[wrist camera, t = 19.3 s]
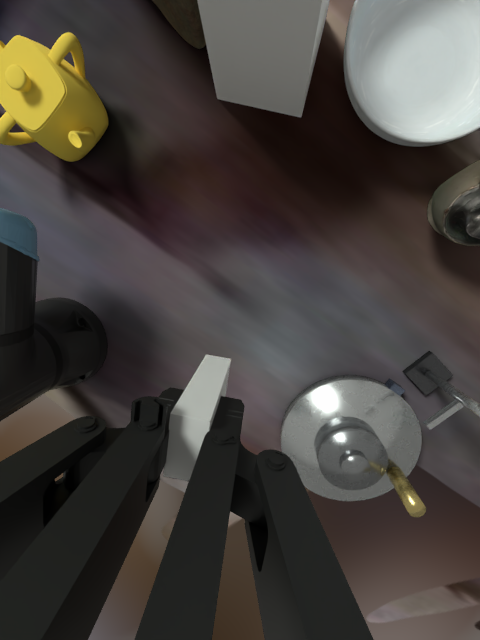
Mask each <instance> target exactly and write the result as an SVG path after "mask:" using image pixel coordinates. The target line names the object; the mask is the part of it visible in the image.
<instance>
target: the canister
mask: <svg viewBox="0 0 480 640" xmlns="http://www.w3.org/2000/svg"><path fill="white" fill-rule="evenodd" d="M152 1H153V2H154V3H155V4H156V5H157V7H158V8H159V9H160V11H161V12H162V13H163V15H164V16H165V17H166V19H167V20H168V21H169V23H170V24H171V25H172V26H173V27H174V28H175V30H176V31H177V32H178V33H179V34H180V35H181V37H182V38H183V39H184V40H185V41H186V42H188V43H189V44H191V45H192V46H193V47H196V48H198V49H201V48H203V47H204V46H205V45H206V41H205V36H204V31H203V26H202V22H201V17H200V12H199V7H198V2H197V0H152Z"/></svg>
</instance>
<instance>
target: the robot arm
mask: <svg viewBox="0 0 480 640" xmlns="http://www.w3.org/2000/svg"><path fill="white" fill-rule="evenodd" d="M38 261H39V257H38V255H37V231H36V228H35V226H34V225H33V223H32V222H31V221H30V220H29V219H27V218H26V217H24V216H22V215H20V214H17V213H14V212H12V211H9V210H6V209H3V208H0V421H1V420H3V419H4V418H6V417H8V416H9V415H11V414H12V413H14V412H15V411H17V410H18V409H20V408H22V407H23V406H25V405H27V404H28V403H30V402H31V401H33V400H34V399H36V398H38V397H39V396H40V395H42V394H44V393H45V392H47V391H49V390H52V389H58V388H63V387H68V386H73V385H76V384H79V383H81V382H83V381H85V380H87V379H88V378H90V377H91V376H92V375H94V374H95V373H96V372H97V371H98V370H99V369H100V368H101V366H102V365H103V363H104V360H105V357H106V353H107V339H106V335H105V332H104V329H103V327H102V325H101V323H100V321H99V320H98V318H97V317H96V316H95V315H94V314H93V313H92V312H91V311H90V310H89V309H88V308H87V307H85V306H84V305H82V304H81V303H79V302H77V301H74V300H71V299H67V298H51V299H46V300H41V301H38V302H35V299H36V281H37V263H38ZM230 363H231V359H228V358H223V357H217V356H211V355H206V356H205V357H204V359H203V361H202V362H201V364H200V366H199V367H198V369H197V371H196V372H195V374H194V376H193V377H192V379H191V380H190V382H189V384H188V385H187V387H186V389H185V390H181V389H176V388H169V389H167V390H165V391H163V392H162V393H161V395H160V396H159V398H158V397H142V398H139V399H136V400H135V401H133V402H132V411H131V422H130V423H129V425H128V426H127V427H126V428H112V429H106V423H105V420H103V419H101V418H99V417H95V416H86V417H81V418H77V419H75V420H73V421H71V422H69V423H67V424H65V425H64V426H62V427H60V428H58V429H57V430H55V431H53V432H52V433H50V434H48V435H46V436H44V437H43V438H41V439H39V440H38V441H36V442H34V443H32V444H31V445H29V446H27V447H25V448H24V449H22V450H20V451H18V452H17V453H15V454H13V455H12V456H10V457H8V458H6V459H5V460H3V461H1V462H0V640H88V638H89V636H90V634H91V632H92V629H93V627H94V625H95V623H96V621H97V619H98V617H99V614H100V612H101V610H102V608H103V606H104V603H105V602H106V599H107V597H108V595H109V593H110V591H111V589H112V586H113V584H114V582H115V580H116V577H117V575H118V573H119V571H120V569H121V567H122V565H123V563H124V560H125V558H126V556H127V554H128V552H129V550H130V547H131V545H132V543H133V541H134V539H135V537H136V534H137V532H138V530H139V528H140V526H141V524H142V521H143V519H144V517H145V515H146V512H147V511H148V508H149V506H150V504H151V502H152V500H153V498H154V495H155V493H156V491H157V489H158V487H159V481H160V474H161V472H162V470H163V468H164V475H163V476H165V477H170V478H175V479H180V480H185V481H189V483H188V486H187V489H186V492H185V495H184V498H183V501H182V504H181V506H180V509H179V512H178V515H177V518H176V521H175V524H174V527H173V530H172V533H171V535H170V538H169V541H168V545H167V547H166V550H165V553H164V556H163V559H162V562H161V564H160V567H159V570H158V573H157V576H156V579H155V582H154V585H153V588H152V591H151V594H150V596H149V599H148V602H147V605H146V608H145V611H144V614H143V617H142V620H141V623H140V626H139V628H138V631H137V634H136V638H135V640H212V634H213V626H214V619H215V612H216V605H217V598H218V591H219V584H220V577H221V570H222V563H223V556H224V549H225V542H226V535H227V528H228V521H229V514H230V511H231V512H233V513H234V514H236V515H238V516H240V517H242V518H244V519H245V529H246V534H247V540H248V545H249V551H250V558H251V563H252V569H253V575H254V580H255V586H256V591H257V597H258V603H259V609H260V614H261V620H262V626H263V632H264V637H265V640H373V637H372V635H371V633H370V631H369V629H368V626H367V624H366V622H365V620H364V617H363V615H362V613H361V611H360V609H359V606H358V604H357V602H356V600H355V598H354V595H353V593H352V591H351V589H350V587H349V584H348V582H347V580H346V578H345V575H344V573H343V571H342V569H341V567H340V564H339V562H338V560H337V558H336V556H335V553H334V551H333V549H332V547H331V544H330V542H329V540H328V538H327V536H326V533H325V531H324V529H323V527H322V525H321V522H320V520H319V518H318V516H317V514H316V512H315V509H314V507H313V505H312V502H311V500H310V498H309V496H308V494H307V491H306V489H305V487H304V485H303V483H302V480H301V478H300V476H299V474H298V472H297V469H296V467H295V465H294V463H293V461H292V460H291V459H290V457H288V456H287V455H286V454H284V453H282V452H280V451H277V450H264V451H262V452H260V453H259V454H258V455H255V454H253V453H251V452H250V451H248V450H247V449H245V448H244V447H243V445H242V444H241V441H240V434H241V426H242V419H243V412H244V404H243V403H242V401H241V400H239V399H234V398H229V397H225V395H226V389H227V383H228V376H229V370H230ZM62 473H64V474H63V477H62V478H61V479H59V480H57V481H55V478H57V477H58V476H59V475H61V474H62Z"/></svg>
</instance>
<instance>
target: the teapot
mask: <svg viewBox="0 0 480 640" xmlns="http://www.w3.org/2000/svg"><path fill="white" fill-rule="evenodd" d="M69 52H71V54H72V56H73V60H74V65H75V68H74V67H73V66H72V65H71V64H69V63H68V62H67V61H66V60H64V57H65V56H66V55H67V54H68V53H69ZM0 104H1V105H2V106H3V107H4V109H5V110H6V111H7V112H6V113H5V114H4V115H3V116H2V117H1V118H0V143H1V144H4V145H21V144H26V143H31V142H37V143H39V144H40V145H41V146H43V147H44V148H45V149H47V150H48V151H49V152H51V153H53V154H54V155H56V156H57V157H59V158H61V159H63V160H65V161H69V162H74V161H78V160H80V159H82V158H83V157H84V156H85V155H86V154H87V153H88V152H89V151H90V150H91V149H92V148H93V147H94V146H95V145H96V143H97V142H98V141H99V140H100V138H101V137H102V135H103V134H104V133H105V131H106V129H107V127H108V116H107V112H106V110H105V107H104V105H103V103H102V101H101V100H100V98H99V96H98V95H97V93H96V91H95V90H94V89H93V87H92V86H91V84H90V83H89V82H88V81H87V79H86V78H85V65H84V55H83V50H82V47H81V45H80V42H79V41H78V39H77V37H76V36H75V35H73V34H72V33H69V32H68V33H64V34H63V35H61V36H60V37H59V39H58V40H57V41H56V43H55V44H54V45H53V47H52V49H51V50H50V49H48V48H47V47H45V46H43V45H41V44H39V43H37V42H35V41H32V40H30V39H28V38H26V37H23V36H19V35H18V36H15V37H13V38H12V39H11V40H10V41H9V43H8V44H7V45H5V44H4V43H3V42H1V41H0ZM16 123H17V124H18V125H19V126H20V127H21V128H22V129H23V130H24V131H25V132H21V133H9V131H10V130H11V128H12V127H13V126H14V125H15V124H16Z"/></svg>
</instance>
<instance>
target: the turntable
mask: <svg viewBox="0 0 480 640" xmlns="http://www.w3.org/2000/svg"><path fill="white" fill-rule="evenodd" d="M404 391H405V390H404V389H403V388H402V387H401V386H400V385H398V384H397V383H395V382H394V381H392V380H391V379H389V380H388V381H387V382H386V383H385V384H384V383H382V382H380V381H377V380H375V379H372V378H368V377H364V376H357V375H341V376H334V377H330V378H326V379H323V380H320V381H318V382H316V383H314V384H312V385H310V386H309V387H307V388H306V389H304V390H303V391H302V392H301V393H300V394H298V395H297V397H296V398H295V399H294V400H293V401H292V402H291V404H290V405H289V407H288V408H287V410H286V412H285V415H284V417H283V421H282V425H281V447H282V453H284V454H286V455H287V456H288V457H290V459H291V460H292V461H293V463H294V465H295V467H296V469H297V472H298V474H299V476H300V478H301V480H302V483H303V485H304V486H305V487H306V488H307V489H309V490H311V491H312V492H314V493H316V494H319V495H321V496H323V497H327V498H330V499H334V500H340V501H360V500H367V499H371V498H374V497H377V496H380V495H382V494H384V493H387V492H388V491H390V490H392V489H393V488H395V490H396V491H397V493H398V495H399V497H400V498H401V500H402V502H403V504H404V506H405V508H406V509H407V511H408V513H409V514H410V515H411V516H413V517H421V516H422V515H424V514H425V512H426V507H425V506H424V504H423V502H422V501H421V499H420V498H419V496H418V495H417V493H416V492H415V490H414V488H413V487H412V485H411V484H410V482H409V481H408V479H407V478H406V477H407V476H408V475H409V474H410V473H411V471H412V469H413V468H414V467H415V465H416V462H417V460H418V458H419V455H420V451H421V444H422V434H421V428H420V425H419V422H418V419H417V417H416V415H415V413H414V411H413V410H412V409H411V407H410V406H409V404H408V403H407V402H406V401H405V400H404V399H403V398H402V397H401V395H402V393H403V392H404ZM338 417H355V418H358V419H361V420H363V421H365V422H366V423H367V424H369V425H370V426H371V427H372V429H373V430H374V431H375V433H376V435H377V436H378V438H379V439H380V441H381V443H382V444H383V446H384V447H385V449H386V452H387V455H388V466H387V470H386V472H385V474H384V475H383V477H382V478H381V479H380V480H379V481H378V482H377V483H375V484H374V485H372V486H370V487H368V488H365V489H361V490H345V489H341V488H338V487H336V486H334V485H332V484H331V483H329V482H328V481H327V480H326V479H325V478H324V476H323V475H322V473H321V471H320V468H319V464H318V460H317V456H316V452H315V448H314V440H315V437H316V434H317V432H318V430H319V429H320V428H321V427H322V426H323V425H324V424H325V423H327V422H328V421H330V420H332V419H335V418H338Z"/></svg>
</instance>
